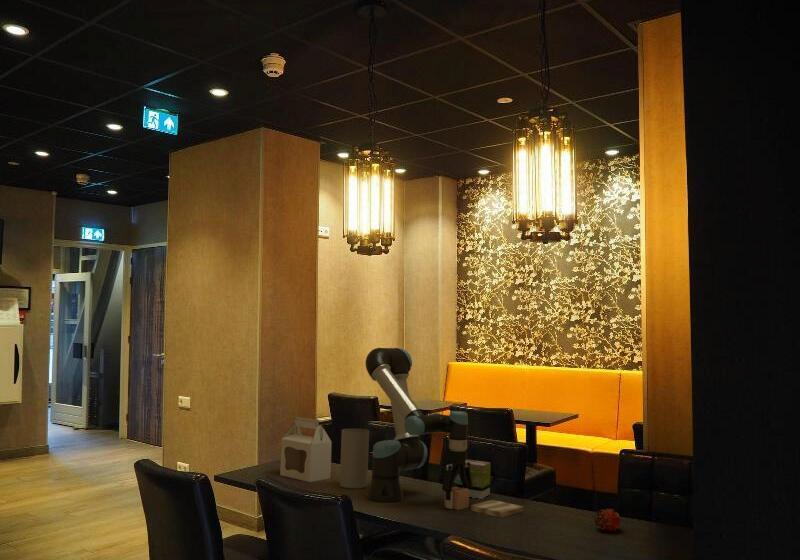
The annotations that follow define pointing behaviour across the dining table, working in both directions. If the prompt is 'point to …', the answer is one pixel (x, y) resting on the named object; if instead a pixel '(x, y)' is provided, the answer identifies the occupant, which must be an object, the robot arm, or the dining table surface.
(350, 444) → the cylinder vase
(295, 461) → the gable box
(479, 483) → the tea box
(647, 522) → the dining table surface
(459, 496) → the terracotta cube
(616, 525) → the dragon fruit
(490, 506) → the birch board
